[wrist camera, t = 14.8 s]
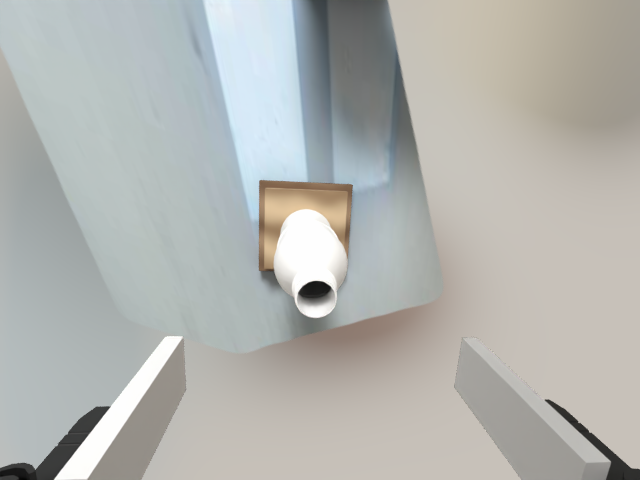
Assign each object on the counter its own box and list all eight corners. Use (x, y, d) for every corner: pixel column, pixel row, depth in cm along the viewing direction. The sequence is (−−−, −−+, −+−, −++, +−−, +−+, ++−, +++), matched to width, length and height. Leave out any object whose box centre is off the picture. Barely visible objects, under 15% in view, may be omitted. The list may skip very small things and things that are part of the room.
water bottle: (318, 199, 45) (344, 233, 21) (336, 243, 47) (380, 321, 23) (273, 218, 46) (247, 274, 21) (293, 261, 47) (290, 359, 23)
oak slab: (266, 187, 46) (264, 188, 44) (345, 191, 47) (347, 192, 46) (265, 264, 49) (264, 268, 47) (340, 266, 50) (342, 270, 48)
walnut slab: (260, 180, 48) (259, 180, 46) (350, 184, 49) (352, 184, 47) (260, 266, 51) (258, 270, 49) (344, 268, 52) (346, 272, 50)
